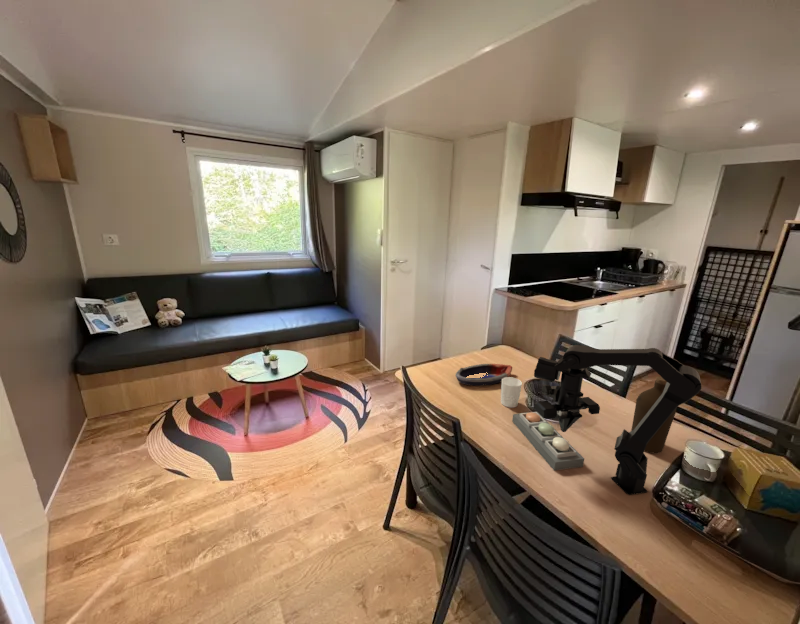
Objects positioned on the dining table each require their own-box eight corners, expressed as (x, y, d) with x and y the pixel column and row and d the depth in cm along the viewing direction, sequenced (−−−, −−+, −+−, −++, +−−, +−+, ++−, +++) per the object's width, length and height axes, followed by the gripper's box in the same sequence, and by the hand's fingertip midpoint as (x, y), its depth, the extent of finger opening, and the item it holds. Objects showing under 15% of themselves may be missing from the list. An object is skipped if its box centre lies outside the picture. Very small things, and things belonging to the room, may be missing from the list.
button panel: (582, 466, 106) (585, 455, 105) (553, 470, 104) (555, 458, 103) (536, 418, 130) (537, 408, 129) (512, 421, 129) (513, 411, 127)
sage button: (556, 434, 114) (557, 430, 114) (543, 436, 113) (544, 431, 113) (548, 426, 119) (548, 422, 118) (535, 427, 118) (536, 423, 117)
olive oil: (647, 457, 111) (665, 388, 104) (619, 437, 120) (634, 373, 113) (672, 452, 113) (692, 384, 106) (643, 433, 123) (659, 370, 116)
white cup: (499, 406, 138) (502, 384, 135) (498, 397, 145) (501, 376, 143) (519, 409, 136) (522, 387, 134) (518, 399, 144) (521, 378, 141)
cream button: (572, 450, 107) (572, 446, 106) (558, 452, 106) (559, 447, 105) (562, 440, 111) (563, 436, 111) (549, 442, 110) (549, 437, 110)
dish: (448, 376, 164) (448, 367, 162) (502, 368, 173) (503, 359, 172) (464, 392, 150) (465, 381, 148) (522, 382, 159) (523, 372, 158)
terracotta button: (542, 423, 122) (543, 419, 122) (530, 424, 121) (530, 420, 121) (534, 415, 127) (535, 411, 126) (523, 416, 126) (523, 413, 125)
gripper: (580, 372, 112) (573, 414, 116) (527, 376, 109) (522, 419, 113) (605, 389, 102) (596, 434, 106) (548, 394, 98) (541, 440, 103)
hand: (563, 431), depth 107 cm, fingers closed
